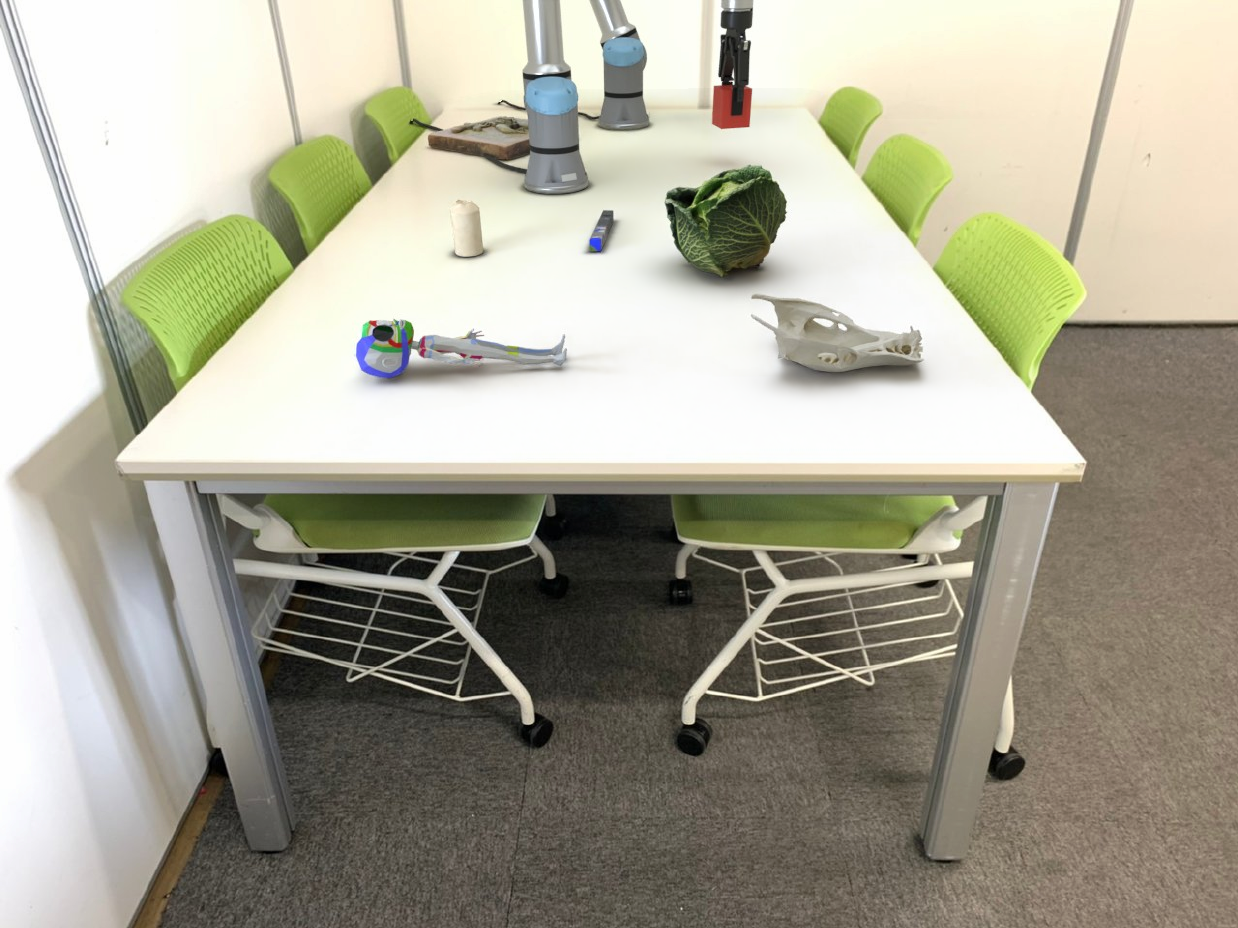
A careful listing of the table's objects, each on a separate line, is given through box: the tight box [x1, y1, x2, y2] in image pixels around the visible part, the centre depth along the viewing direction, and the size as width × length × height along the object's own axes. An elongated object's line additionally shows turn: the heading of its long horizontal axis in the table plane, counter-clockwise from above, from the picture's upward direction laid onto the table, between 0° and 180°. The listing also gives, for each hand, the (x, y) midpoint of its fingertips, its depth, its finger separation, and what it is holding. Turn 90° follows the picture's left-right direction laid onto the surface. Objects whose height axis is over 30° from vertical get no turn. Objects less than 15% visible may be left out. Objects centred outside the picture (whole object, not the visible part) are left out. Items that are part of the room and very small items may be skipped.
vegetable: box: [664, 164, 788, 278], centre depth 161 cm, size 20×19×20 cm
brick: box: [711, 84, 753, 130], centre depth 224 cm, size 8×7×9 cm
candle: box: [449, 199, 484, 258], centre depth 172 cm, size 6×6×10 cm
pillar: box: [588, 209, 615, 252], centre depth 182 cm, size 2×2×20 cm
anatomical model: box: [750, 293, 925, 373], centre depth 129 cm, size 15×9×25 cm
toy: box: [353, 318, 568, 379], centre depth 130 cm, size 10×8×30 cm
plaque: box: [427, 115, 530, 161], centre depth 252 cm, size 30×7×30 cm
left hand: (731, 112), depth 224 cm, fingers closed on brick, 7 cm apart
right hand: (738, 17), depth 265 cm, fingers open, 13 cm apart
